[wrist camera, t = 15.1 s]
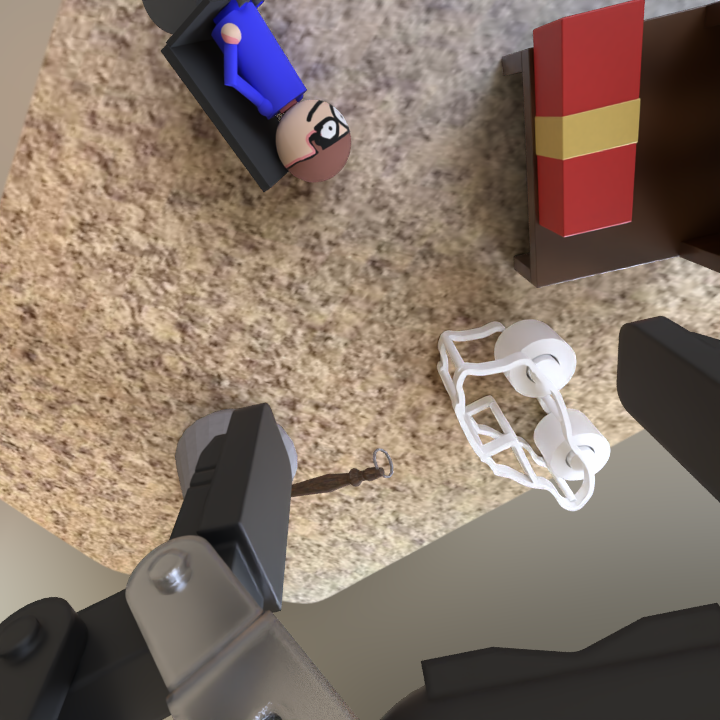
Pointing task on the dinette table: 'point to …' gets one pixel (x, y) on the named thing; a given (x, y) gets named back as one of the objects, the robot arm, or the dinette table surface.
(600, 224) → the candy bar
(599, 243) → the shelf rack
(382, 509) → the dinette table surface
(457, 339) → the car outline toy
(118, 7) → the dinette table surface
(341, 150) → the character figurine
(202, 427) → the coffee pot
